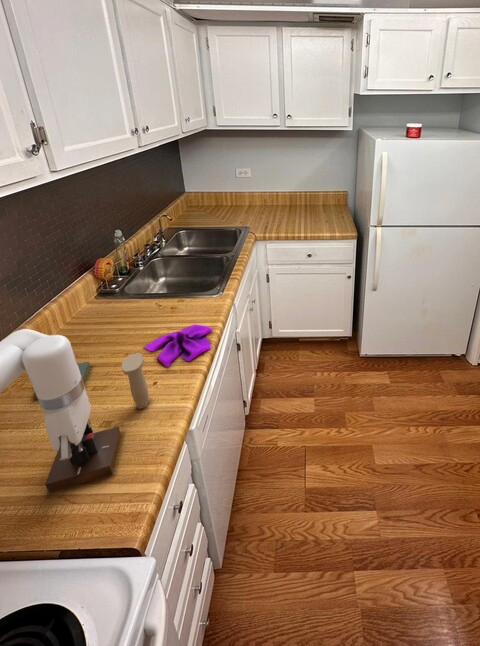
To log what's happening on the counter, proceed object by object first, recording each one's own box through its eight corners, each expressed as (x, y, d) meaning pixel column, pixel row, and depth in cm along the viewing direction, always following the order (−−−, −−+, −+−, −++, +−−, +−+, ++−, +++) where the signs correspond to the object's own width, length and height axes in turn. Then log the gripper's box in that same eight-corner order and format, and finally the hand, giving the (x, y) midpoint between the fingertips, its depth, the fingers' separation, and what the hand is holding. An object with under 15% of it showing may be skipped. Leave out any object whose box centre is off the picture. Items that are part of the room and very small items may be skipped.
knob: (69, 460, 74) (63, 445, 72) (71, 453, 75) (66, 439, 74) (97, 452, 76) (92, 437, 74) (99, 445, 77) (94, 431, 75)
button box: (36, 399, 93) (31, 388, 91) (48, 375, 100) (44, 365, 99) (81, 388, 96) (78, 378, 94) (90, 366, 104) (87, 356, 102)
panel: (48, 493, 70) (44, 484, 69) (65, 450, 79) (61, 440, 78) (112, 474, 74) (109, 465, 73) (121, 434, 83) (118, 425, 82)
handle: (132, 416, 88) (120, 373, 82) (134, 397, 93) (123, 355, 88) (152, 411, 89) (141, 368, 84) (153, 392, 95) (143, 351, 89)
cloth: (211, 322, 125) (209, 308, 123) (216, 355, 109) (214, 340, 106) (145, 336, 117) (142, 322, 115) (140, 374, 101) (137, 358, 99)
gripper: (55, 367, 75) (76, 424, 82) (21, 432, 60) (50, 496, 67) (93, 359, 77) (110, 415, 84) (69, 420, 62) (93, 483, 69)
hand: (84, 451), depth 75 cm, fingers open, 4 cm apart
